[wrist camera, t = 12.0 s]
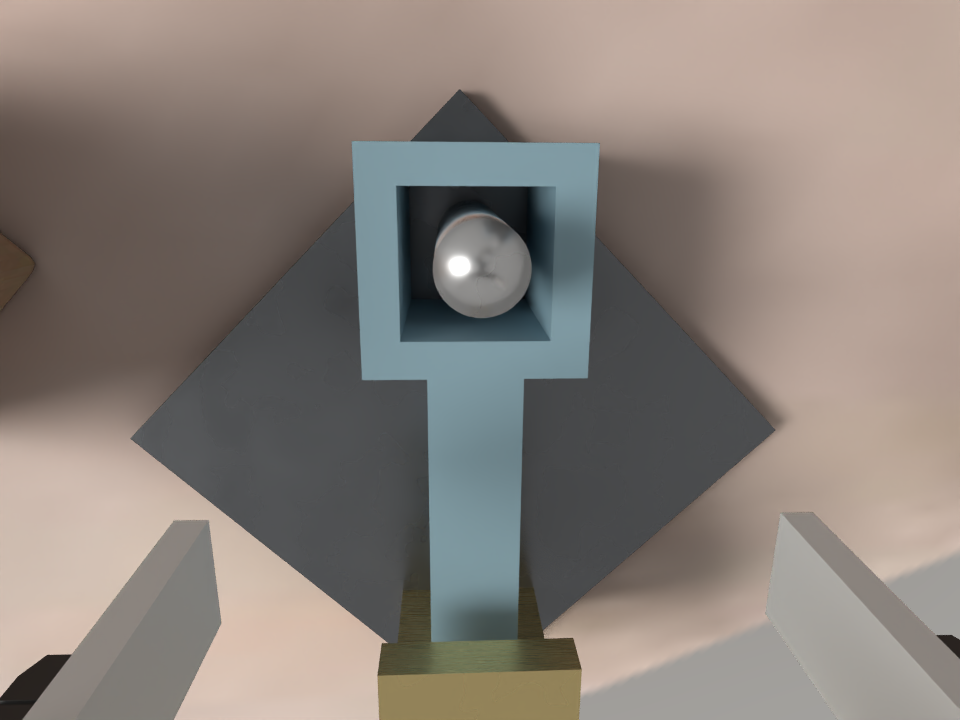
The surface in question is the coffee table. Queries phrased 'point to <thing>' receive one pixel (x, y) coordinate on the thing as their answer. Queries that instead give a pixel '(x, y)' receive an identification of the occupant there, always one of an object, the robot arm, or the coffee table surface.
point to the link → (476, 351)
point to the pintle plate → (404, 445)
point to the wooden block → (12, 269)
